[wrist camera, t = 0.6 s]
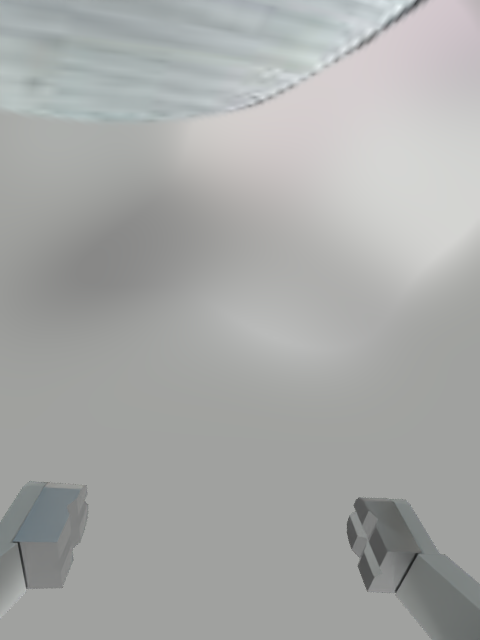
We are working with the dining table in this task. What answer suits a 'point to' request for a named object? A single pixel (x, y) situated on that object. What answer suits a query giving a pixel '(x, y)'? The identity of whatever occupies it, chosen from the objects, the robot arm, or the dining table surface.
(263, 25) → the dining table surface
